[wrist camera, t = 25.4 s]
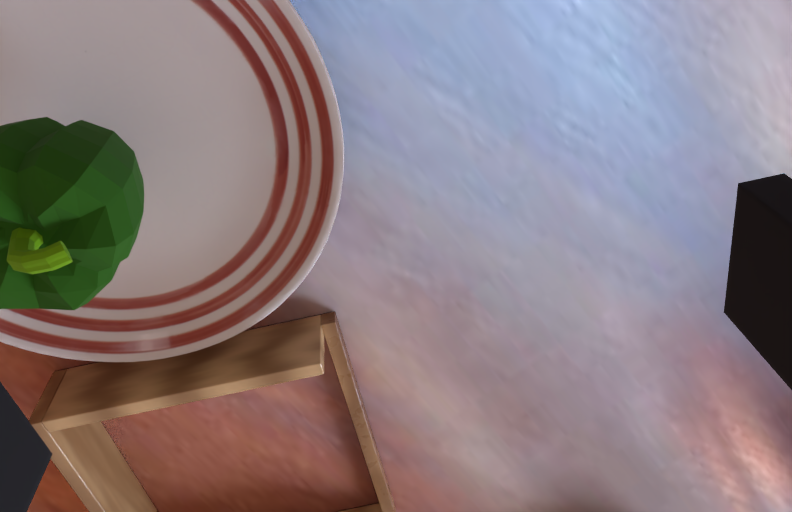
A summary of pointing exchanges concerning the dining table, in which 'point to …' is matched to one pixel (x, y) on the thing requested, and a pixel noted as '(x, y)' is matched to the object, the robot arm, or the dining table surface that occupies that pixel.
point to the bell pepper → (64, 212)
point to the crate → (182, 383)
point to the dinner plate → (184, 161)
